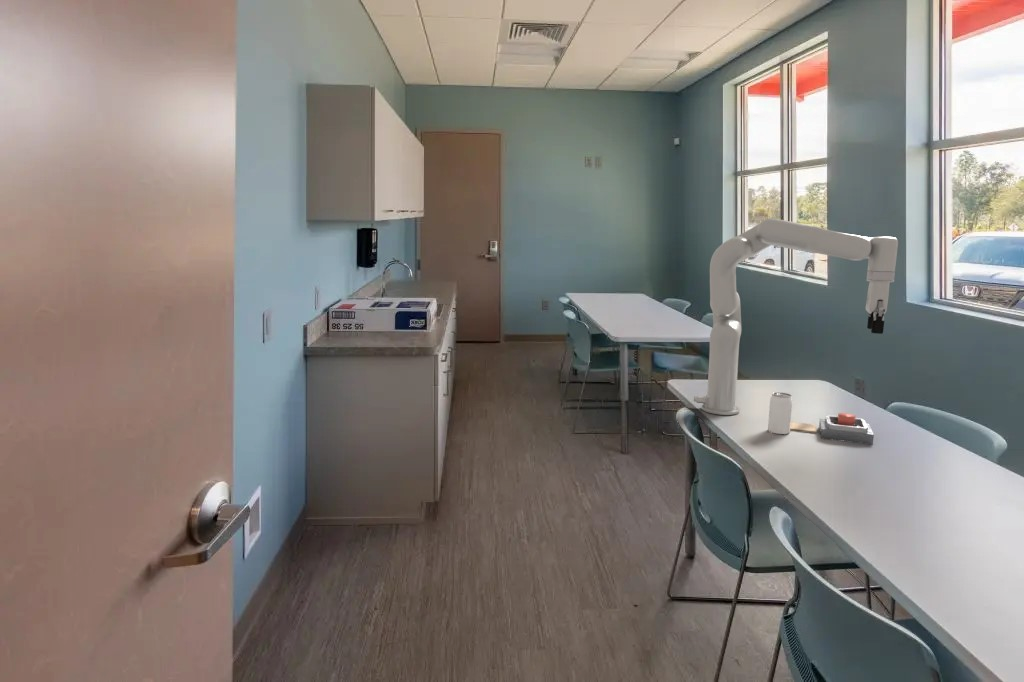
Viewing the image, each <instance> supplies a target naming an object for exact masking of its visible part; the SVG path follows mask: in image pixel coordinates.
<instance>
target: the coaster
mask: <svg viewBox="0 0 1024 682" xmlns="http://www.w3.org/2000/svg"><path fill="white" fill-rule="evenodd" d="M791 430H792V432H802V433H803V432H804V433H809V432H811V433H810V434H817V432H818V429H817V424H813V423H806V422H805V423H804V422H794V421H791V425H790V431H791Z"/></svg>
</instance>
